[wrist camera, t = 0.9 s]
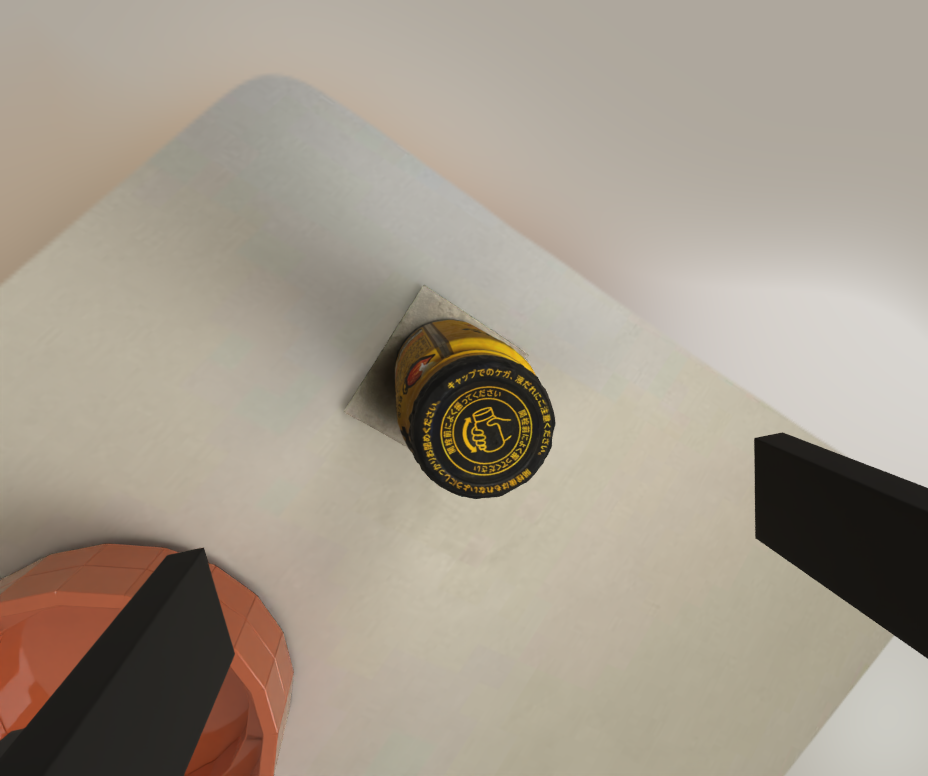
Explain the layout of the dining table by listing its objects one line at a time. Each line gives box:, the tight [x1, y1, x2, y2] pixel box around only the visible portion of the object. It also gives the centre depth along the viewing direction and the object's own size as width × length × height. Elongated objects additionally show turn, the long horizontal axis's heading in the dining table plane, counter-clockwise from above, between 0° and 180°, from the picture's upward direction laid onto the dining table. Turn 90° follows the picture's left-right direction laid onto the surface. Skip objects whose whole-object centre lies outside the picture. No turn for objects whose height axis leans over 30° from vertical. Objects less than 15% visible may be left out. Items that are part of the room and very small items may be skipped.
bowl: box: [0, 543, 294, 776], centre depth 28 cm, size 19×19×5 cm
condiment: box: [344, 285, 555, 499], centre depth 23 cm, size 7×8×12 cm
